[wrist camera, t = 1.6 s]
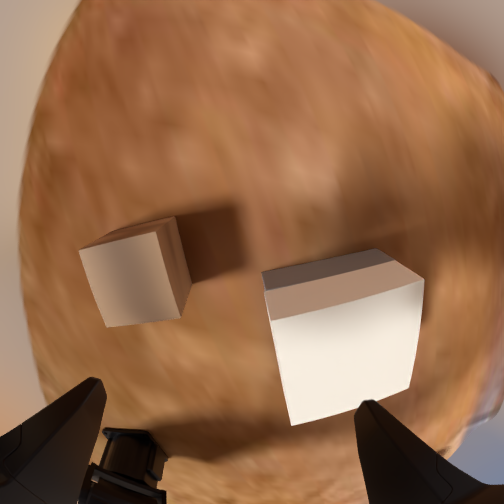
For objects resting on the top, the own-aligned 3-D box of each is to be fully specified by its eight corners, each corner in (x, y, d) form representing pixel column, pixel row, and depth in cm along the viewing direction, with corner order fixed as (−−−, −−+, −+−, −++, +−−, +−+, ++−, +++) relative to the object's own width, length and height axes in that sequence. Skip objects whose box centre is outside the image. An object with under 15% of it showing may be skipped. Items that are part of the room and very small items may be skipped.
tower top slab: (283, 392, 19) (291, 425, 16) (263, 291, 17) (271, 320, 13) (389, 361, 19) (408, 387, 16) (395, 260, 17) (424, 279, 13)
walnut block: (131, 294, 20) (106, 327, 15) (112, 231, 18) (78, 250, 13) (192, 283, 20) (180, 318, 15) (175, 215, 18) (155, 231, 13)
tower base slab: (277, 364, 23) (284, 391, 19) (260, 270, 20) (266, 290, 17) (373, 340, 23) (389, 362, 19) (373, 246, 20) (396, 260, 17)
